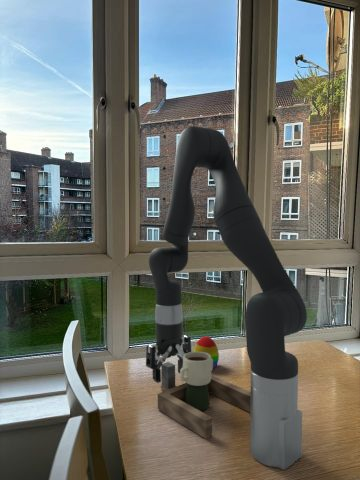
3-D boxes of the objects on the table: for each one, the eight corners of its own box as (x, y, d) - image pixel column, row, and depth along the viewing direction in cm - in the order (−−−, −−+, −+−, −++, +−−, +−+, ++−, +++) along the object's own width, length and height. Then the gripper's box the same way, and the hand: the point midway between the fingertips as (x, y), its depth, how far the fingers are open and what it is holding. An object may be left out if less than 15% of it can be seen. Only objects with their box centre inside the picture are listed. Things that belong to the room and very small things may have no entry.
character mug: (202, 394, 104) (202, 347, 103) (222, 404, 98) (222, 354, 98) (171, 408, 97) (171, 357, 96) (190, 419, 91) (190, 365, 91)
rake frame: (258, 411, 95) (258, 383, 94) (205, 438, 83) (205, 407, 82) (188, 378, 114) (188, 355, 114) (138, 397, 102) (138, 371, 102)
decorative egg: (189, 370, 121) (189, 339, 120) (198, 361, 128) (198, 331, 127) (214, 374, 117) (214, 342, 117) (221, 364, 125) (221, 334, 124)
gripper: (156, 327, 98) (157, 389, 99) (197, 317, 107) (197, 374, 108) (139, 321, 104) (140, 380, 105) (179, 312, 113) (180, 367, 114)
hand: (169, 377), depth 106 cm, fingers open, 8 cm apart
